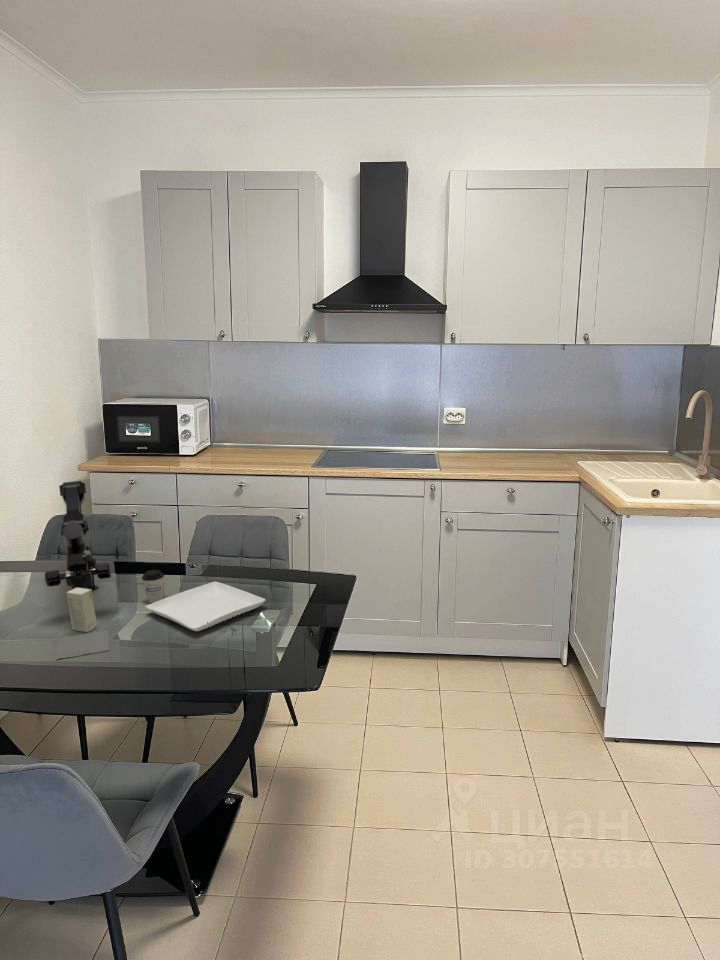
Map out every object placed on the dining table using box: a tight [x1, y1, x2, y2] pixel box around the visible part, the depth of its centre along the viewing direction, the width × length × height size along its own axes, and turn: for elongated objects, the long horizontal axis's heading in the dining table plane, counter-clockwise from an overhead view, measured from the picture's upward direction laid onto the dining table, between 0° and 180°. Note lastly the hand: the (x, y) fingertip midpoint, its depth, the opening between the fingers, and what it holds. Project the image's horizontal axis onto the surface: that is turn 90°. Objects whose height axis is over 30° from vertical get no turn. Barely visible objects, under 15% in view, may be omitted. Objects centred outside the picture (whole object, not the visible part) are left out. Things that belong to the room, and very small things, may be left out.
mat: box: [56, 629, 110, 653], centre depth 210 cm, size 14×14×1 cm
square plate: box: [144, 581, 267, 632], centre depth 230 cm, size 27×27×4 cm
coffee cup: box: [141, 569, 165, 604], centre depth 238 cm, size 7×7×10 cm
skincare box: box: [66, 588, 98, 633], centre depth 220 cm, size 6×4×12 cm
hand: (80, 599), depth 223 cm, fingers closed
